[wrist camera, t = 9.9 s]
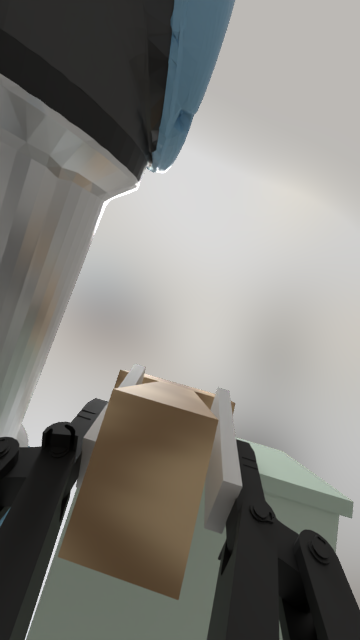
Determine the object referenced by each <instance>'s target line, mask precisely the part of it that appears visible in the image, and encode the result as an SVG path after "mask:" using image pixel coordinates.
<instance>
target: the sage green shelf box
mask: <svg viewBox="0 0 360 640" xmlns="http://www.w3.org/2000/svg"><path fill="white" fill-rule="evenodd" d="M236 439H237V440H241V441H244V442H247V443H249V444H250V446H251V447H252V449H253V450H254V452H255V456H256V463H257V465H258V471H259V474H260V479H261V483H262V488H263V492H264V496H265V500H266V502H267V503H268V504H269V506H270V507H271V508H272V510H273V511H274V513H275V515H276V518H277V519H278V520H279V521H280V522H281V523H283V524H284V525H285V526H287V527H288V528H290V529H291V530H293V531H295V532H296V533H298V534H300V532H301V531H303V530H305V529H307V530H312V531H314V532H316V533H318V534H320V535H321V536H322V537H323V538H324V539H325V540H326V541H327V542H328V543H329V544H330V545H331V547H332V548H333V549H334V551H335V552H336V542H337V531H338V521H339V515H342V516H345V517H349V518H352V512H353V501H351V500H350V499H349V498H347V497H346V496H344V495H343V494H342V493H340V492H339V491H337V490H336V489H334V488H333V487H332V486H330V485H329V484H328V483H326V482H325V481H324V480H322V479H321V478H319V477H318V476H317V475H315V474H314V473H312V472H311V471H310V470H308V469H307V468H305V467H304V466H303V465H301V464H300V463H298V462H297V461H296V460H294V459H293V458H291V457H290V456H289V455H287V454H286V453H284V452H283V451H280V450H277V449H273V448H270V447H266V446H263V445H260V444H257V443H253V442H249V441H246V440H243V439H240V438H236ZM79 491H80V489H79V488H77V490H76V492H75V495H74V498H73V502H72V504H71V507H70V511H69V513H68V517H67V520H66V522H65V525H64V528H63V531H62V534H61V537H60V540H59V543H58V546H57V549H56V553H55V555H54V558H53V561H52V564H51V567H50V570H49V573H48V576H47V579H46V582H45V585H44V588H43V591H42V594H41V597H40V600H39V603H38V606H37V609H36V612H35V615H34V618H33V621H32V624H31V627H30V630H29V633H28V636H27V639H26V640H207V635H208V629H209V624H210V618H211V612H212V607H213V601H214V595H215V590H216V584H217V578H218V573H219V567H220V561H221V560H218V557H219V554H220V552H221V550H222V547H223V545H224V543H225V541H226V526H225V528H224V530H223V533H222V534H220V533H217V532H214V531H211V530H208V529H204V512H205V483H204V488H203V492H202V497H201V501H200V506H199V510H198V515H197V519H196V524H195V528H194V533H193V537H192V542H191V546H190V551H189V555H188V560H187V564H186V569H185V573H184V578H183V582H182V587H181V591H180V596H179V600H176V599H173V598H171V597H168V596H165V595H162V594H159V593H157V592H154V591H151V590H148V589H145V588H143V587H140V586H137V585H134V584H132V583H129V582H126V581H123V580H120V579H118V578H115V577H112V576H109V575H106V574H104V573H101V572H98V571H95V570H93V569H90V568H87V567H84V566H81V565H79V564H76V563H73V562H70V561H67V560H65V559H62V558H59V557H58V554H59V551H60V548H61V545H62V542H63V539H64V536H65V533H66V530H67V527H68V524H69V521H70V518H71V515H72V512H73V509H74V506H75V503H76V500H77V497H78V494H79ZM279 640H283V638H282V633H281V627H280V622H279Z"/></svg>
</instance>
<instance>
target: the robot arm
mask: <svg viewBox="0 0 360 640" xmlns="http://www.w3.org/2000/svg"><path fill="white" fill-rule="evenodd" d="M234 2H235V0H0V640H25V637H26V633H27V630H28V627H29V624H30V621H31V618H32V615H33V611H34V608H35V605H36V602H37V599H38V596H39V593H40V589H41V586H42V583H43V580H44V576H45V574H46V570H47V567H48V564H49V561H50V558H51V555H52V552H53V548H54V545H55V542H56V539H57V536H58V532H59V529H60V526H61V523H62V520H63V517H64V513H65V511H66V507H67V504H68V501H69V498H70V491H71V489H72V487H73V485H74V483H75V482H76V480H77V484H76V487H77V488H79V489H80V488H81V485H82V482H83V479H84V476H85V473H86V469H87V466H88V463H89V460H90V457H91V454H92V451H93V448H94V445H95V442H96V439H97V436H98V433H99V430H100V427H101V424H102V421H103V418H104V415H105V412H106V409H107V406H108V403H109V402H107V401H103V400H100V399H97V398H95V399H93V400H92V401H90V402H88V403H87V404H86V405H85V406H84V408H83V409H82V410H81V411H80V412H79V413H78V415H77V416H76V417H75V418H74V419H73V421H72V422H71V423H69V422H58V423H55V424H53V425H51V426H49V427H47V428H46V429H45V431H44V432H43V436H42V446H41V447H29V446H28V437H27V433H26V431H25V428H24V427H23V425H22V424H21V423H22V421H23V418H24V416H25V413H26V410H27V408H28V405H29V403H30V400H31V398H32V395H33V392H34V390H35V387H36V385H37V382H38V379H39V377H40V374H41V372H42V369H43V366H44V364H45V361H46V359H47V356H48V353H49V351H50V348H51V345H52V343H53V341H54V338H55V335H56V333H57V330H58V327H59V325H60V322H61V320H62V317H63V314H64V312H65V309H66V307H67V304H68V302H69V299H70V296H71V294H72V291H73V289H74V286H75V283H76V281H77V278H78V276H79V273H80V271H81V268H82V265H83V263H84V260H85V258H86V255H87V252H88V250H89V247H90V244H91V242H92V239H93V237H94V234H95V232H96V229H97V227H98V223H99V221H100V219H101V216H102V214H103V211H104V208H105V206H106V205H107V203H108V202H109V201H110V200H111V199H113V198H116V197H119V196H122V195H125V194H127V193H130V192H133V191H136V190H137V189H138V187H139V184H140V181H141V179H142V177H143V174H144V172H145V169H146V167H147V169H149V170H150V171H152V172H159V173H164V172H166V171H167V170H168V169H169V168H170V167H171V166H172V164H173V163H174V161H175V159H176V158H177V156H178V154H179V152H180V150H181V148H182V146H183V144H184V142H185V139H186V137H187V134H188V131H189V129H190V126H191V122H192V119H193V116H194V114H195V113H196V112H197V111H198V108H199V106H200V104H201V101H202V100H203V97H204V94H205V92H206V89H207V86H208V84H209V81H210V78H211V75H212V72H213V70H214V67H215V64H216V61H217V58H218V55H219V52H220V49H221V46H222V42H223V39H224V36H225V33H226V30H227V27H228V24H229V20H230V17H231V13H232V10H233V6H234ZM145 368H146V367H145V366H141V365H138V364H134V366H133V367H132V369H131V370H130V372H129V373H128V374H127V376H126V377H125V379H124V380H123V382H122V383H121V384H120V386H119V387H118V388H121V387H127V386H133V385H139V384H142V382H143V377H144V373H145ZM210 410H211V412H212V413H213V414H214V415H215V416H216V418H217V419H218V425H217V429H216V434H215V438H214V443H213V447H212V452H211V456H210V461H209V465H208V470H207V474H206V479H205V512H204V529H208V530H211V531H214V532H217V533H220V534H222V533H223V530H224V528H225V526H226V541H225V543H224V545H223V547H222V550H221V552H220V554H219V557H218V560H221V561H220V567H219V573H218V578H217V584H216V590H215V595H214V601H213V607H212V612H211V618H210V624H209V629H208V635H207V640H279V622H280V627H281V633H282V638H283V640H360V610H359V607H358V605H357V602H356V600H355V598H354V595H353V593H352V590H351V588H350V585H349V583H348V581H347V578H346V576H345V573H344V571H343V569H342V566H341V564H340V561H339V559H338V557H337V555H336V553H335V551H334V549H333V548H332V547H331V545H330V544H329V543H328V542H327V541H326V540H325V539H324V538H323V537H322V536H321V535H320V534H318V533H316V532H314V531H312V530H307V529H305V530H303V531H301V532H300V534H298V533H296V532H295V531H293V530H291V529H290V528H288V527H287V526H285V525H284V524H283V523H281V522H280V521H279V520H278V519H277V518H276V515H275V513H274V511H273V510H272V508H271V507H270V506H269V504H268V503H267V502H266V500H265V496H264V492H263V488H262V483H261V479H260V474H259V471H258V465H257V463H256V456H255V452H254V450H253V449H252V447H251V446H250V444H249V443H247V442H244V441H241V440H237V439H236V436H235V429H234V423H233V414H232V407H231V400H230V393H229V390H225V389H222V388H218V389H217V392H216V395H215V397H214V400H213V403H212V406H211V409H210Z"/></svg>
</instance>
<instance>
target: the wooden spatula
mask: <svg viewBox="0 0 360 640" xmlns="http://www.w3.org/2000/svg"><path fill="white" fill-rule="evenodd" d="M129 372H130V371H125V370H120V372H119V375H118V378H117V381H116V384H115V387H114V389H113V391H112V394H111V398H110V400H109V403H108V406H107V409H106V412H105V415H104V418H103V421H102V424H101V427H100V430H99V433H98V436H97V439H96V442H95V445H94V448H93V451H92V454H91V457H90V460H89V463H88V466H87V469H86V473H85V476H84V479H83V482H82V485H81V488H80V491H79V494H78V497H77V500H76V503H75V506H74V509H73V512H72V515H71V518H70V521H69V524H68V527H67V530H66V533H65V536H64V539H63V542H62V545H61V548H60V551H59V554H58V557H59V558H62V559H65V560H67V561H70V562H73V563H76V564H79V565H81V566H84V567H87V568H90V569H93V570H95V571H98V572H101V573H104V574H106V575H109V576H112V577H115V578H118V579H120V580H123V581H126V582H129V583H132V584H134V585H137V586H140V587H143V588H145V589H148V590H151V591H154V592H157V593H159V594H162V595H165V596H168V597H171V598H173V599H176V600H179V596H180V591H181V587H182V582H183V578H184V573H185V569H186V564H187V560H188V555H189V551H190V546H191V542H192V537H193V533H194V528H195V524H196V519H197V515H198V510H199V506H200V501H201V497H202V492H203V488H204V483H205V479H206V474H207V470H208V465H209V461H210V456H211V452H212V447H213V443H214V438H215V434H216V429H217V425H218V419H217V418H216V416H215V415H214V414H213V413H212V412H211V410H210V409H211V406H212V403H213V400H214V397H215V395H216V394H213V393H209V392H206V391H203V390H199V389H196V388H192V387H189V386H185V385H182V384H178V383H175V382H171V381H168V380H164V379H161V378H158V377H154V376H151V375H147V374H144V377H143V382H142V384H139V385H133V386H127V387H121V388H118V387H119V386H120V384H121V383H122V382H123V380H124V379H125V377H126V376H127V374H128V373H129ZM234 406H235V403H234V402H232V401H231V407H232V414H233V411H234Z"/></svg>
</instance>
